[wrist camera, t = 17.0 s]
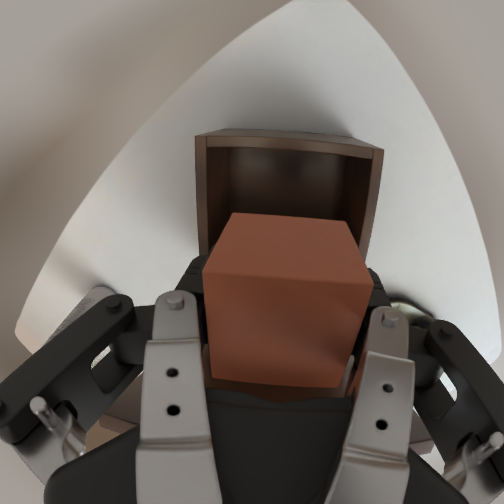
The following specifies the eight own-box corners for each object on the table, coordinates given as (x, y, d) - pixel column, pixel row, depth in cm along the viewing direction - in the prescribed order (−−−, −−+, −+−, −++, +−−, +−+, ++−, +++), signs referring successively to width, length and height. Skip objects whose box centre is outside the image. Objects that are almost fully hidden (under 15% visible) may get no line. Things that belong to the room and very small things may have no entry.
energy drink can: (110, 320, 40) (63, 391, 27) (86, 291, 38) (30, 357, 25) (133, 309, 38) (82, 387, 25) (106, 277, 36) (44, 349, 23)
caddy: (223, 128, 26) (194, 135, 18) (354, 137, 25) (384, 149, 16) (224, 268, 33) (204, 321, 25) (334, 277, 32) (346, 332, 24)
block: (232, 212, 12) (201, 269, 7) (345, 220, 11) (374, 283, 7) (232, 303, 14) (211, 378, 10) (328, 311, 13) (338, 388, 9)
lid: (96, 410, 8) (116, 494, 8) (437, 437, 7) (394, 518, 7) (203, 320, 24) (201, 373, 24) (347, 332, 23) (338, 385, 23)
